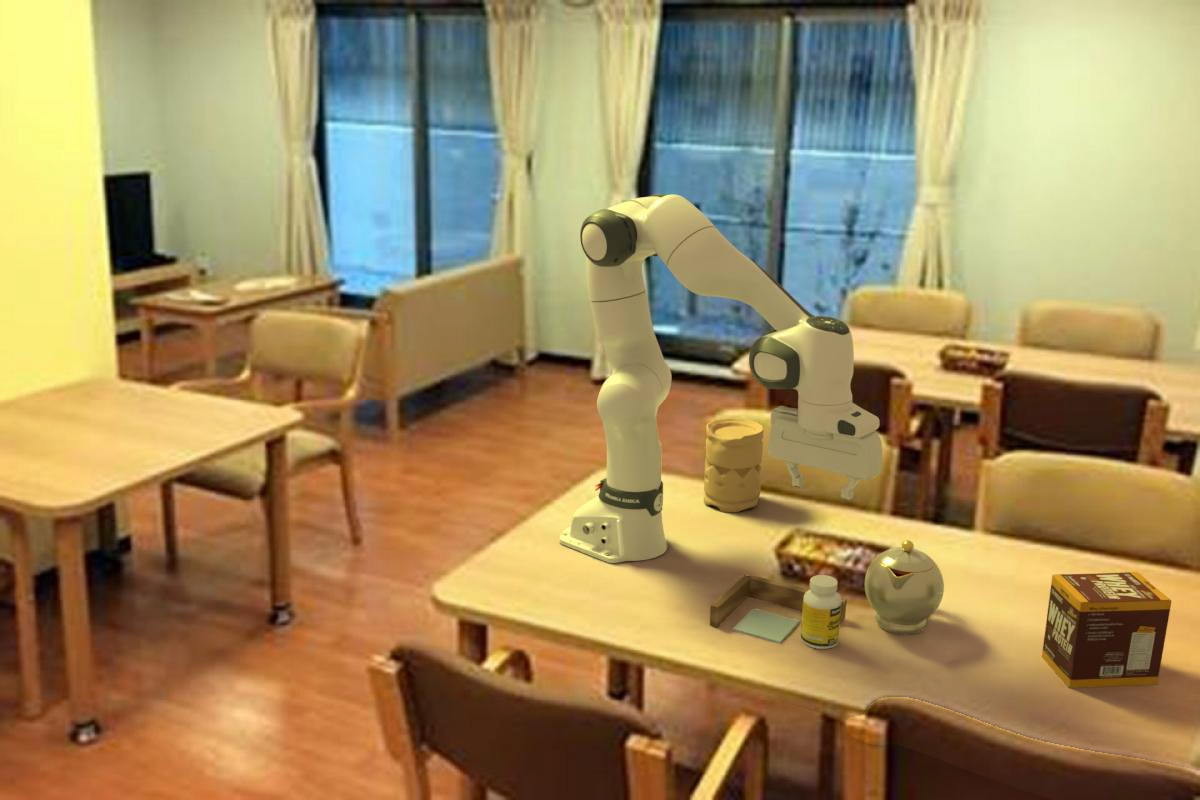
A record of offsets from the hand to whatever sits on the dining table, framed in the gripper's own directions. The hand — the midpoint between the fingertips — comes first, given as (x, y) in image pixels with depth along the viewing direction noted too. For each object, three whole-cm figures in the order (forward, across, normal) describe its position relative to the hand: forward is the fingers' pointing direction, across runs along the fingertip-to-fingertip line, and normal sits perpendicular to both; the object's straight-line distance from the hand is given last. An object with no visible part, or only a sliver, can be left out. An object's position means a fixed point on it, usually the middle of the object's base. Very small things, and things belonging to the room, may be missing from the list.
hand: (822, 492), depth 201 cm
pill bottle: (+27, +2, -2) cm, 27 cm away
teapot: (+27, +9, +14) cm, 32 cm away
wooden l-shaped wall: (+26, -7, -1) cm, 27 cm away
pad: (+26, -8, -4) cm, 28 cm away
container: (+26, -46, +40) cm, 66 cm away
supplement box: (+29, +42, +20) cm, 54 cm away
